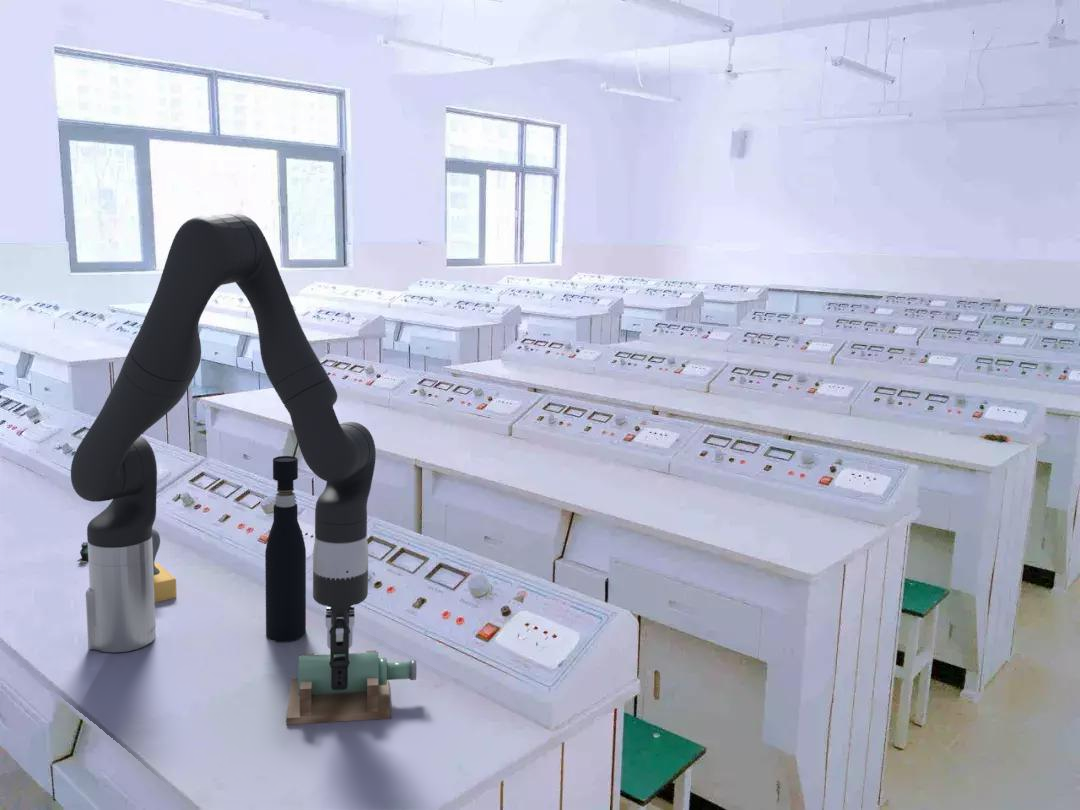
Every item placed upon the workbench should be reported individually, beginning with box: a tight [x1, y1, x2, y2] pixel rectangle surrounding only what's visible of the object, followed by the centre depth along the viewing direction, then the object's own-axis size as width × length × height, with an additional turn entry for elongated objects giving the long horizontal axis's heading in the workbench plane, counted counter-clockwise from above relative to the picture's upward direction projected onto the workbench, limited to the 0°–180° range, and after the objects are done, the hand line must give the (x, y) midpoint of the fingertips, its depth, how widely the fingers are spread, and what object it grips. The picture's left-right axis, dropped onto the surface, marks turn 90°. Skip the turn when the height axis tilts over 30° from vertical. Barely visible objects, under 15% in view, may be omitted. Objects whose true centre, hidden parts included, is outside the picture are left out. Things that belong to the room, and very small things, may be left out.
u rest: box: [285, 649, 392, 726], centre depth 128 cm, size 14×11×5 cm
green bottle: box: [297, 651, 417, 696], centre depth 128 cm, size 16×6×6 cm, turn 101°
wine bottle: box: [264, 455, 307, 643], centre depth 146 cm, size 6×6×30 cm
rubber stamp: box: [152, 528, 178, 603], centre depth 162 cm, size 10×6×12 cm, turn 41°
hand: (339, 676), depth 128 cm, fingers open, 6 cm apart
